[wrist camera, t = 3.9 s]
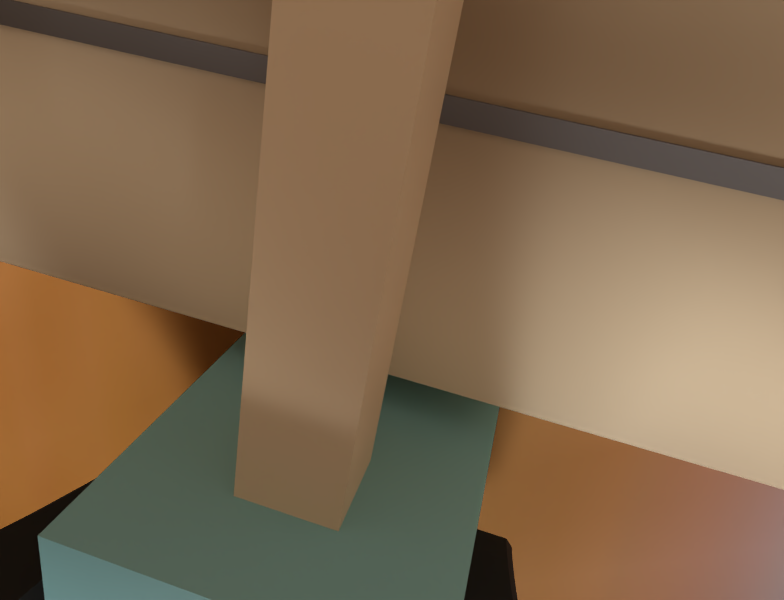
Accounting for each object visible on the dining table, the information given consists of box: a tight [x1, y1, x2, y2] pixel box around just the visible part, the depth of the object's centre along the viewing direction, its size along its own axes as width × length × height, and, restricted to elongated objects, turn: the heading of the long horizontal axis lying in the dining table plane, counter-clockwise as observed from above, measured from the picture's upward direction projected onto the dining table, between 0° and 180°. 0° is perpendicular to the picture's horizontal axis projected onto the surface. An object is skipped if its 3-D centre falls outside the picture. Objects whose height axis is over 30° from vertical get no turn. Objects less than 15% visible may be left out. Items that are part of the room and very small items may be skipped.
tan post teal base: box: [38, 0, 499, 600], centre depth 7 cm, size 12×4×5 cm, turn 170°
